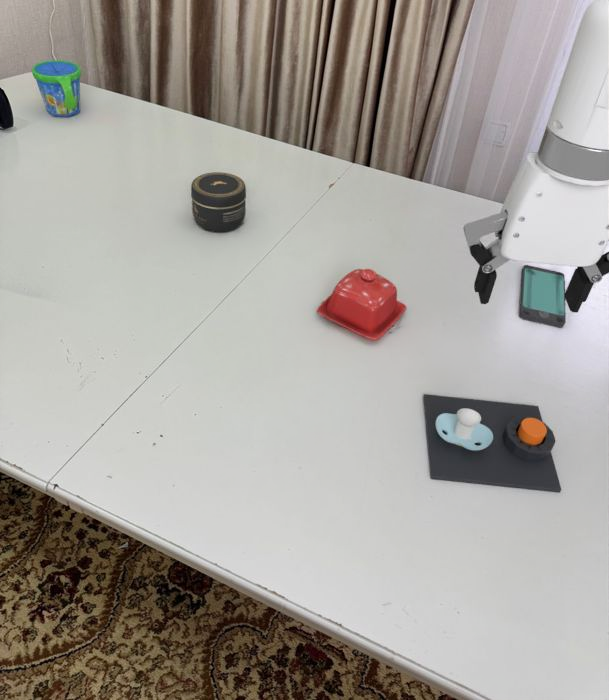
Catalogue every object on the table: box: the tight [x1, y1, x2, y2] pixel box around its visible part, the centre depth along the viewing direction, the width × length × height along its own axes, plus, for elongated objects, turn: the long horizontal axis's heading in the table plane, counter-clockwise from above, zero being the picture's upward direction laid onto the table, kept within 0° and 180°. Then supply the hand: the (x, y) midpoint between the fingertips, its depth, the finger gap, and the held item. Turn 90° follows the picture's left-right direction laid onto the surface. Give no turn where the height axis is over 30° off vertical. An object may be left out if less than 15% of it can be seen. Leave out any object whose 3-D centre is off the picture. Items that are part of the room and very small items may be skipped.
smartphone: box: [518, 264, 567, 329], centre depth 106 cm, size 7×1×15 cm
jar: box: [190, 171, 247, 234], centre depth 115 cm, size 10×10×8 cm
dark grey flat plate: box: [422, 393, 562, 494], centre depth 81 cm, size 16×14×2 cm
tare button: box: [518, 418, 547, 445], centre depth 80 cm, size 3×3×2 cm
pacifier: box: [436, 408, 493, 450], centre depth 79 cm, size 7×6×6 cm
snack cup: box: [31, 59, 82, 118], centre depth 146 cm, size 16×10×10 cm
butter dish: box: [316, 268, 407, 341], centre depth 97 cm, size 12×12×8 cm
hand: (526, 300), depth 68 cm, fingers open, 9 cm apart
